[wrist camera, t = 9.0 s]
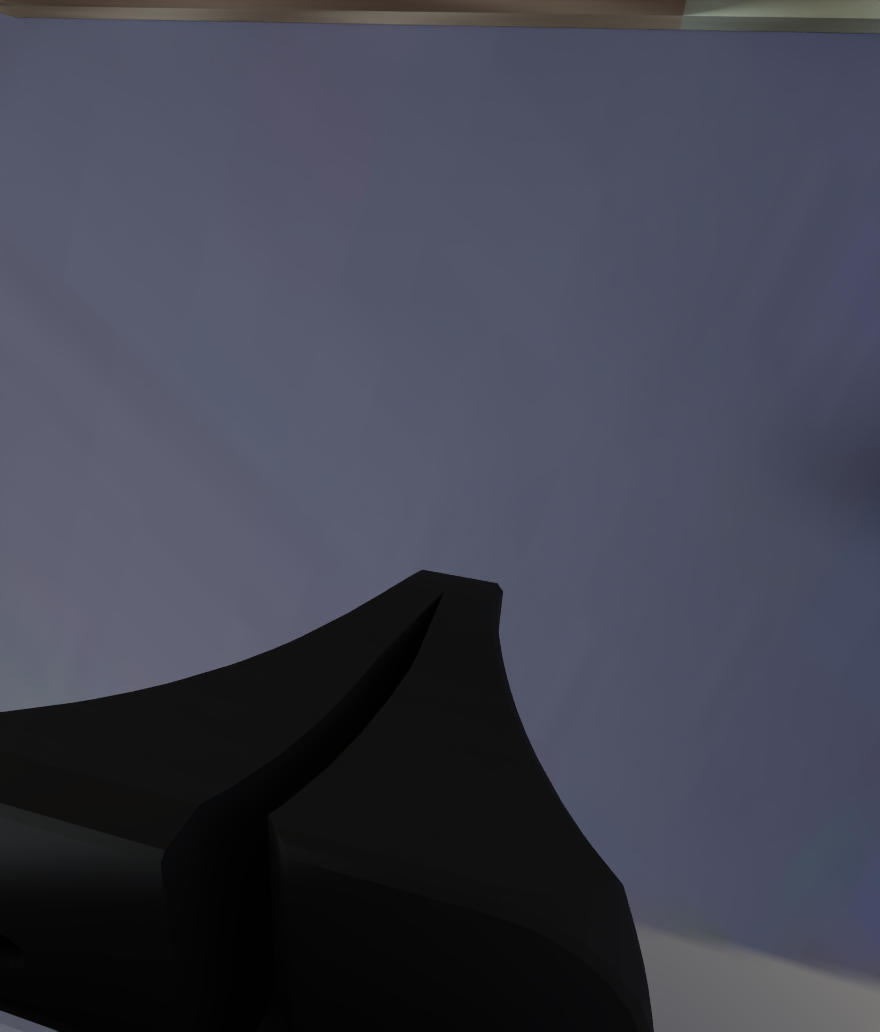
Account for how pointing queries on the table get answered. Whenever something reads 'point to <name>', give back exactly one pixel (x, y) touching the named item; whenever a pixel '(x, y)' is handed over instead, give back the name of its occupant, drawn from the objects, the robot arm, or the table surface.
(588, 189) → the table surface
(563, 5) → the cubby base
